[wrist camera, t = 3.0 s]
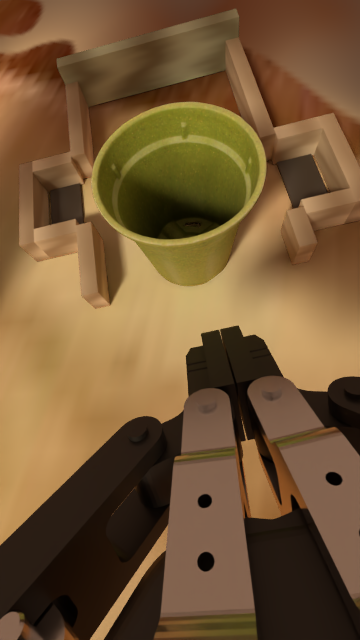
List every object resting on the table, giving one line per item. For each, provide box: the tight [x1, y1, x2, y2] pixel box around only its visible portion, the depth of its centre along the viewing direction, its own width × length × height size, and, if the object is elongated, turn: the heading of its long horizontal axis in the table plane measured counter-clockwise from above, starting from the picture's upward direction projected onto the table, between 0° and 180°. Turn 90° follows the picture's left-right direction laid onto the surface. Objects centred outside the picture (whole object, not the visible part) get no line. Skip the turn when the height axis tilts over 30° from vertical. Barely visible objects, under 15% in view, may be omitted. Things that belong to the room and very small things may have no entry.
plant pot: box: [91, 102, 267, 286], centre depth 21 cm, size 9×9×9 cm
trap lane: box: [19, 9, 360, 309], centre depth 26 cm, size 26×23×4 cm
